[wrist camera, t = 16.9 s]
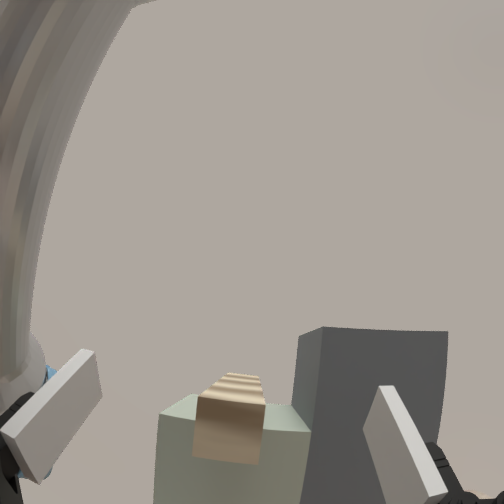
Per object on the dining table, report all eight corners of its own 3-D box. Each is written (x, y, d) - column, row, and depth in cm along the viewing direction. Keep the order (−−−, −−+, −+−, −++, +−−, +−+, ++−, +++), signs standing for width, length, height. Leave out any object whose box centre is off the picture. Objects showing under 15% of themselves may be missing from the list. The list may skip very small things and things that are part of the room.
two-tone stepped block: (398, 566, 18) (448, 331, 28) (153, 563, 19) (171, 309, 29) (361, 517, 34) (389, 340, 43) (181, 509, 35) (199, 325, 44)
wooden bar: (258, 464, 16) (265, 404, 17) (191, 456, 16) (197, 396, 17) (255, 404, 39) (258, 375, 40) (225, 401, 39) (228, 372, 40)
